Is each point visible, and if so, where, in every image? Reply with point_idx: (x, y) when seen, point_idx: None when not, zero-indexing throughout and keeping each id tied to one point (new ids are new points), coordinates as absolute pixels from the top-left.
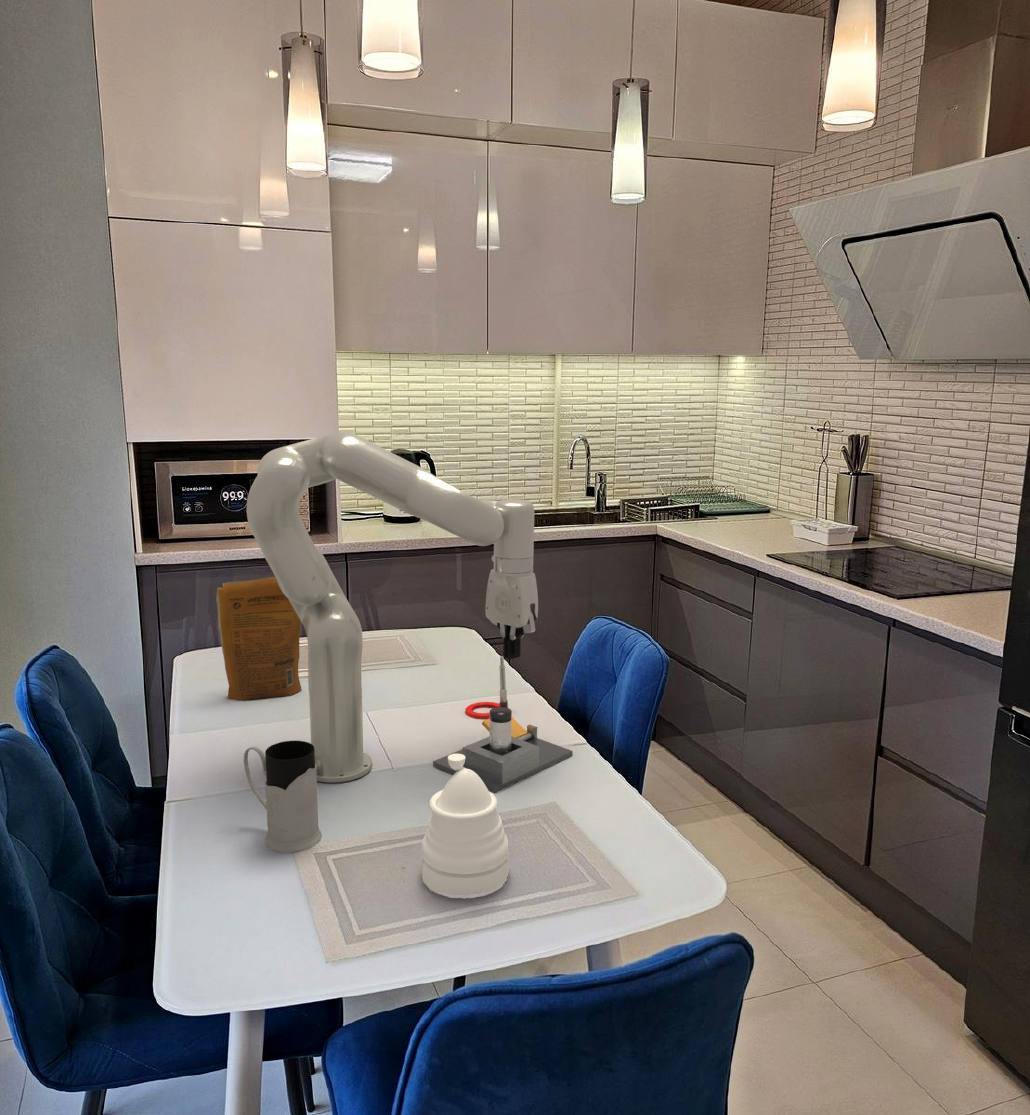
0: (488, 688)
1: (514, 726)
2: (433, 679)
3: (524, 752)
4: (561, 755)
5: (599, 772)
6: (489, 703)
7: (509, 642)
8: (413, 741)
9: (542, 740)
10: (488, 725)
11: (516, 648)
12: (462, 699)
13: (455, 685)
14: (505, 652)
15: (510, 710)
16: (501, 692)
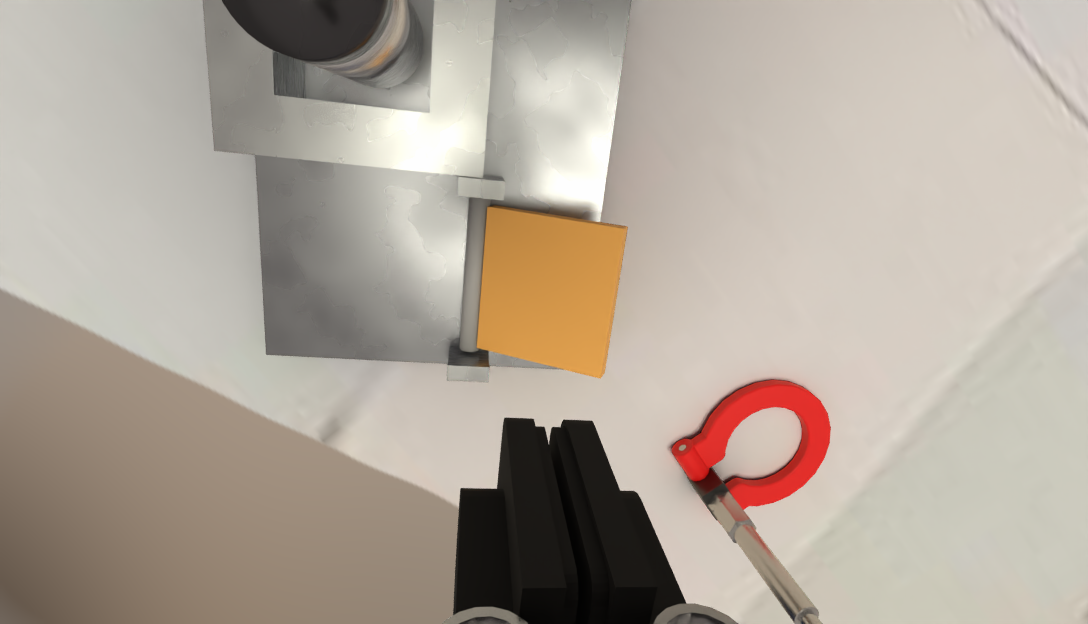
0: (850, 584)
1: (526, 330)
2: (1042, 530)
3: (213, 39)
4: (267, 294)
5: (88, 293)
6: (775, 488)
7: (520, 555)
8: (844, 66)
9: (419, 358)
10: (590, 229)
11: (457, 557)
12: (880, 472)
13: (956, 539)
14: (574, 454)
15: (254, 30)
16: (740, 518)
